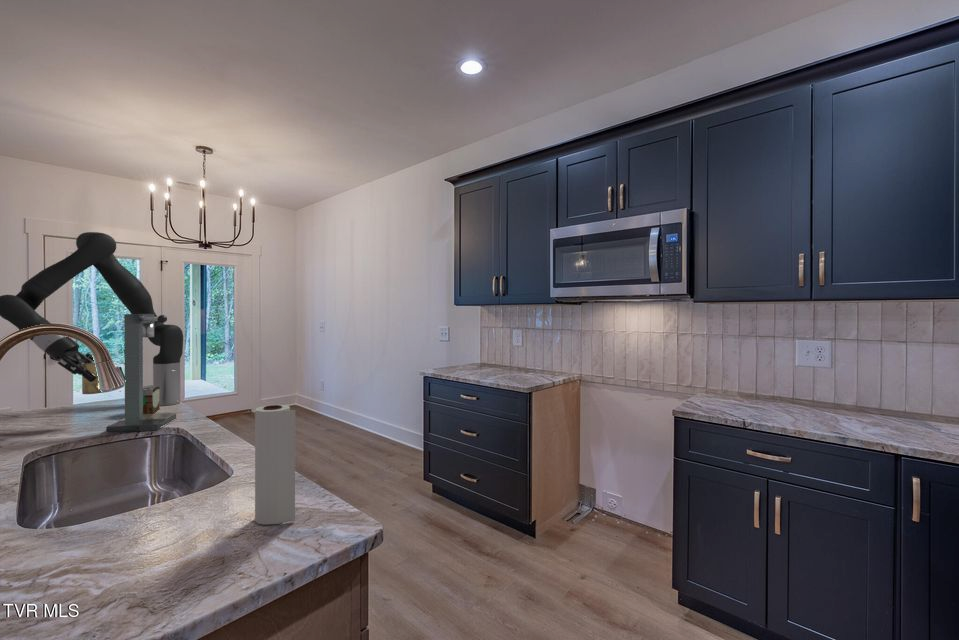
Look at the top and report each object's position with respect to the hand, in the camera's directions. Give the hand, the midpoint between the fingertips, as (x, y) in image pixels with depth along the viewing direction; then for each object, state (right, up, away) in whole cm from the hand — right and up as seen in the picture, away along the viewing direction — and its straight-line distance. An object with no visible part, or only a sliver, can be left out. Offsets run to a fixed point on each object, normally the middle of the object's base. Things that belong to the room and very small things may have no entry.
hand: (99, 378), depth 146 cm
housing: (-2, -5, 0) cm, 5 cm away
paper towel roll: (+90, -18, -64) cm, 112 cm away
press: (+15, -16, +1) cm, 22 cm away
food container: (+2, -16, +17) cm, 24 cm away
